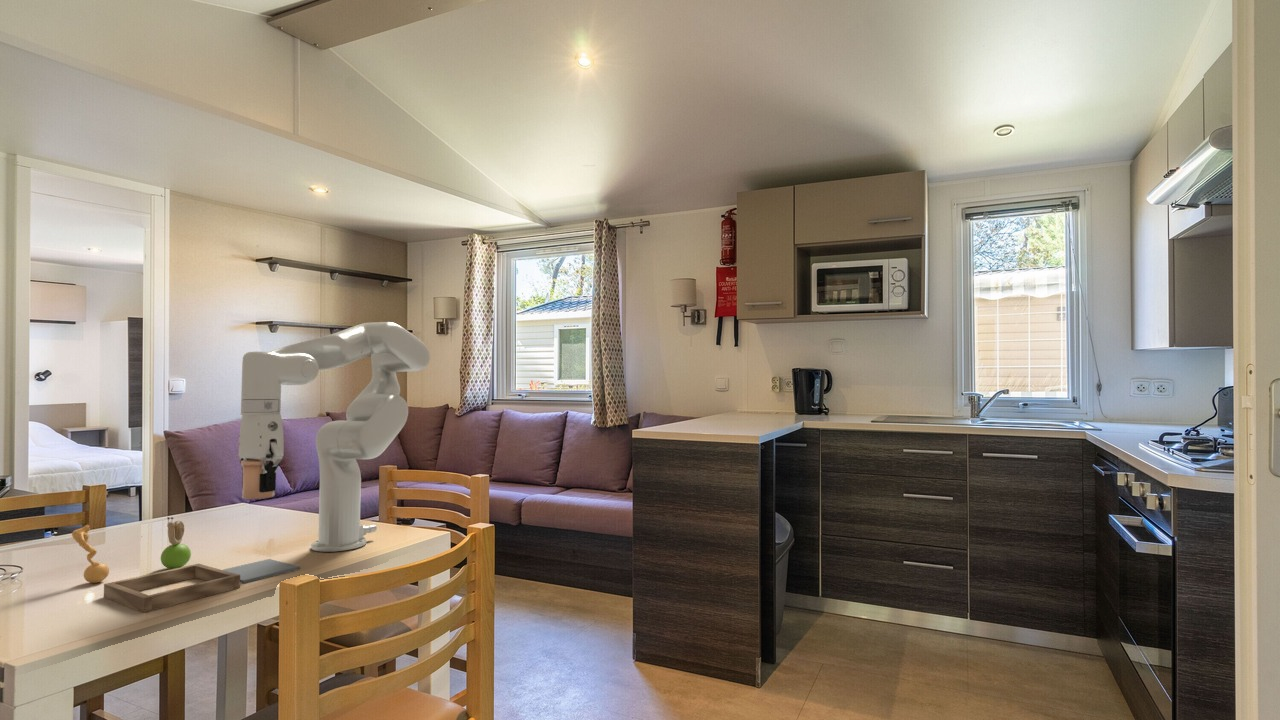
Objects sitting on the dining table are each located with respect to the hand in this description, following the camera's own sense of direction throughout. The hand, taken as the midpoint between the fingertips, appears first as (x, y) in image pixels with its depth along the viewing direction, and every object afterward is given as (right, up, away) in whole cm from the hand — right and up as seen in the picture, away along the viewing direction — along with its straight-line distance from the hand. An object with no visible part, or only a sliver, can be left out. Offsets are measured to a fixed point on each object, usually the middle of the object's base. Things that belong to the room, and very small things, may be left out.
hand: (258, 489), depth 139 cm
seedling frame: (-8, -17, -14) cm, 24 cm away
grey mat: (0, -18, -1) cm, 18 cm away
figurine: (-29, -18, -9) cm, 35 cm away
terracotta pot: (0, -2, 0) cm, 2 cm away
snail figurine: (-19, -18, +2) cm, 27 cm away
